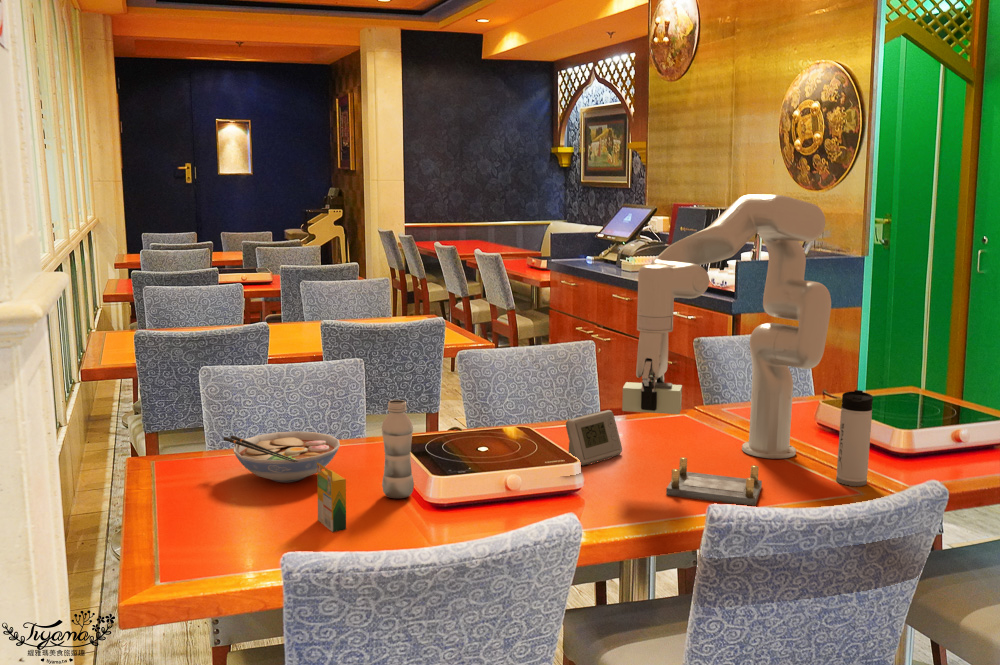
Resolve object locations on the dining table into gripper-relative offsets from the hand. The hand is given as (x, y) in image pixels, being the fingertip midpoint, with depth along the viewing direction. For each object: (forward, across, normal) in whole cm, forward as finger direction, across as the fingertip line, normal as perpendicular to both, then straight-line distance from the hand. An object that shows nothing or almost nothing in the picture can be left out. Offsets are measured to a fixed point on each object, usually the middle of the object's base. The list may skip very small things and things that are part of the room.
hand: (652, 405), depth 195 cm
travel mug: (+18, -18, +40) cm, 48 cm away
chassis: (+17, 0, +14) cm, 22 cm away
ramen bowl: (+17, +29, -74) cm, 81 cm away
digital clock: (+18, -12, -16) cm, 27 cm away
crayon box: (+17, +49, -49) cm, 72 cm away
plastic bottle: (+17, +30, -46) cm, 57 cm away
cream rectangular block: (+1, 0, 0) cm, 1 cm away
